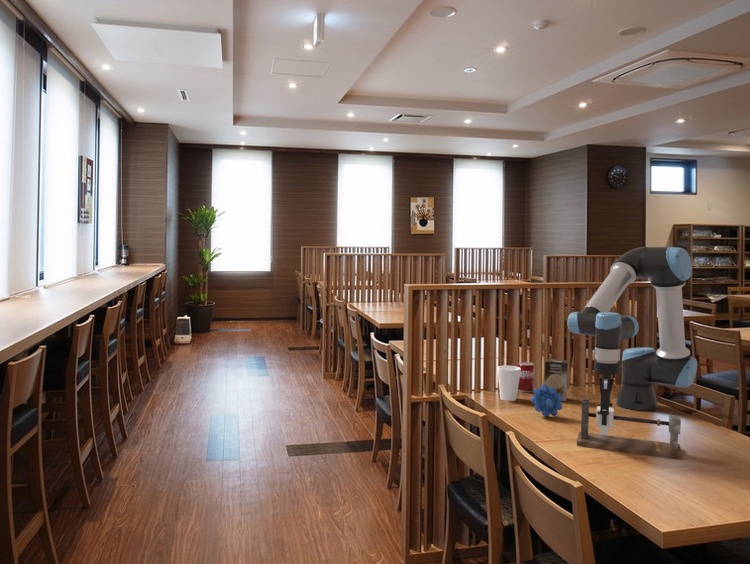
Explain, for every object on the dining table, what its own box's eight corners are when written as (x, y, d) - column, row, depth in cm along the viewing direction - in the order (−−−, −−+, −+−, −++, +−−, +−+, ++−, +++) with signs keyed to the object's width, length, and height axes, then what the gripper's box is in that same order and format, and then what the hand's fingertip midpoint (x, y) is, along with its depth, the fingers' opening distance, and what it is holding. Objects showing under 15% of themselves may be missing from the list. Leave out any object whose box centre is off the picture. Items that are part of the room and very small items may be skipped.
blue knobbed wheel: (534, 420, 219) (535, 387, 218) (529, 414, 226) (529, 383, 225) (565, 420, 219) (566, 387, 219) (559, 414, 226) (560, 383, 225)
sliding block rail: (576, 445, 192) (578, 403, 191) (579, 436, 201) (580, 396, 200) (681, 459, 180) (683, 415, 179) (679, 448, 189) (681, 406, 188)
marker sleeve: (596, 425, 192) (596, 409, 191) (596, 421, 196) (597, 406, 196) (612, 427, 190) (613, 411, 189) (613, 423, 194) (613, 407, 194)
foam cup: (494, 396, 253) (494, 365, 252) (515, 395, 253) (516, 365, 253) (500, 402, 243) (501, 370, 242) (522, 401, 244) (523, 370, 243)
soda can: (534, 393, 258) (535, 365, 258) (517, 392, 260) (517, 364, 259) (533, 389, 266) (534, 362, 265) (516, 388, 267) (517, 361, 266)
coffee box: (543, 399, 248) (544, 361, 247) (544, 395, 254) (545, 358, 253) (566, 401, 245) (567, 362, 244) (566, 397, 251) (568, 359, 250)
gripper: (596, 354, 203) (593, 419, 204) (592, 366, 183) (590, 438, 185) (620, 356, 200) (617, 422, 202) (618, 368, 180) (616, 442, 182)
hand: (604, 430), depth 193 cm, fingers open, 9 cm apart
